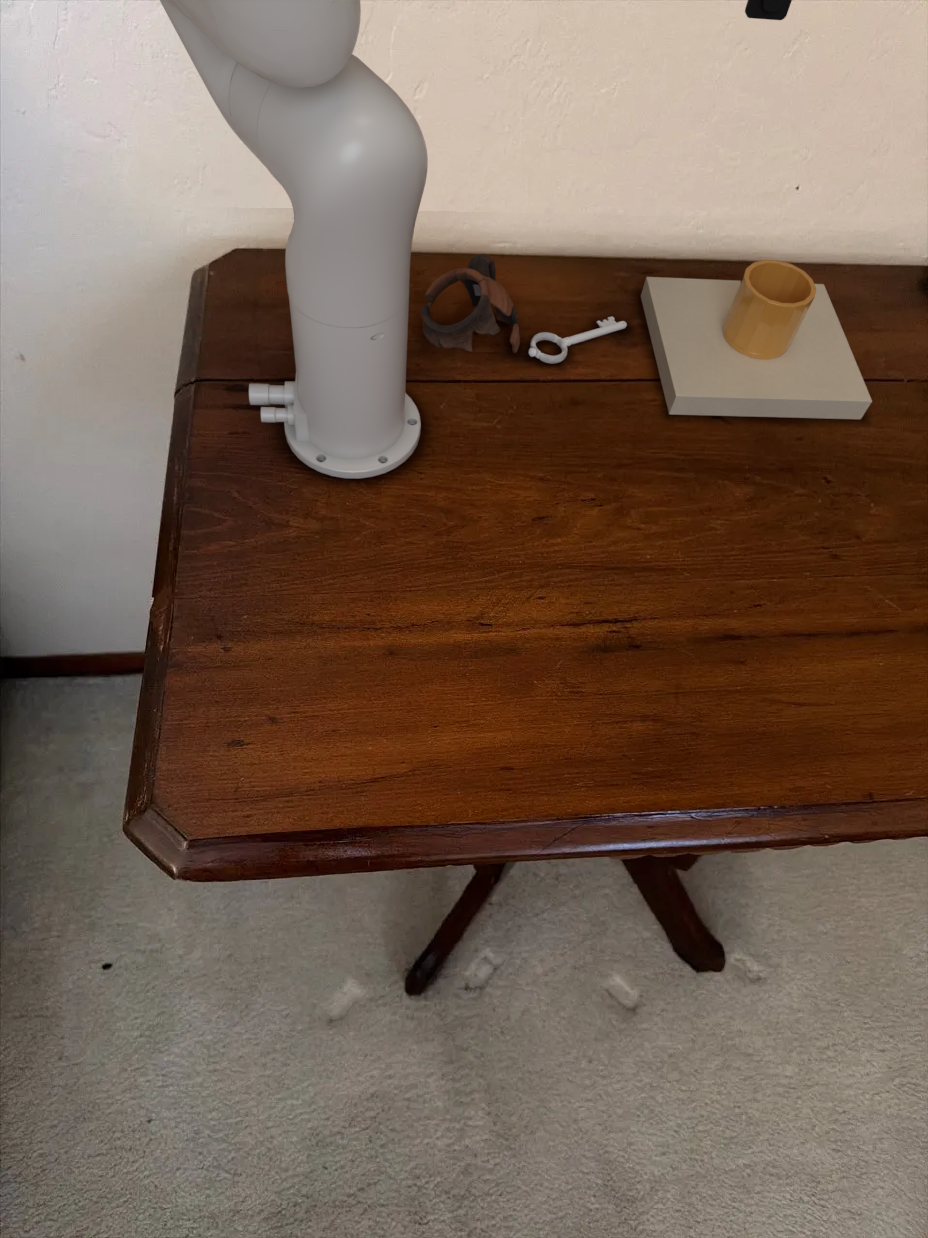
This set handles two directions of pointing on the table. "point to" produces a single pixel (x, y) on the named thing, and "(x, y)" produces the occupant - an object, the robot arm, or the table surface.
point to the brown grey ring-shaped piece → (482, 296)
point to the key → (572, 339)
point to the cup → (768, 309)
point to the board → (748, 358)
